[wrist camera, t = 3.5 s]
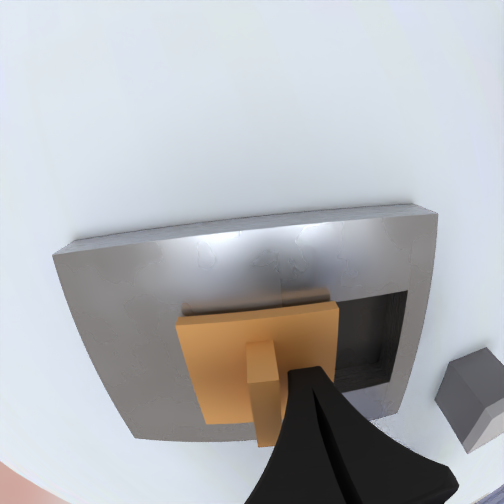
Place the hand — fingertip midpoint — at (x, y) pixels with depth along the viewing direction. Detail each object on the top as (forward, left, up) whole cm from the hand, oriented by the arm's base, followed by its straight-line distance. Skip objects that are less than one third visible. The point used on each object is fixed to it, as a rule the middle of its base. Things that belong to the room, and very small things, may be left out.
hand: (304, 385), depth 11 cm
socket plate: (0, +2, -4) cm, 4 cm away
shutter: (0, +2, -1) cm, 2 cm away
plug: (-7, -13, -4) cm, 15 cm away
